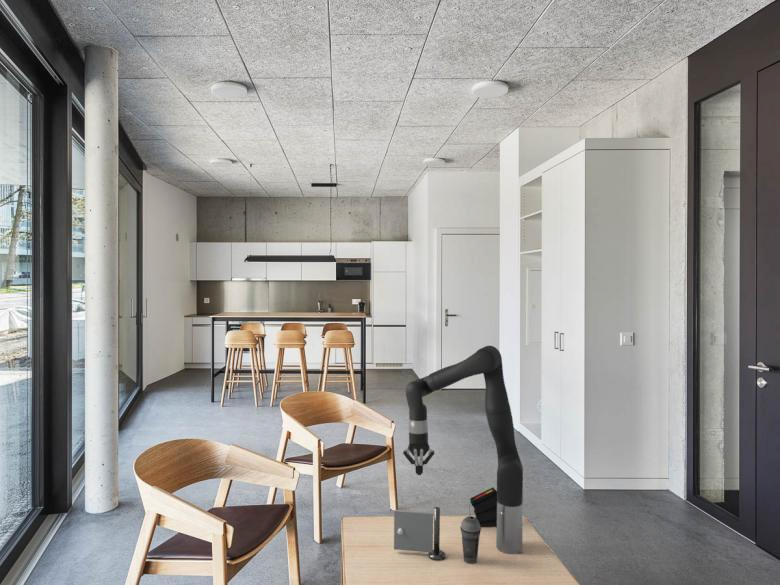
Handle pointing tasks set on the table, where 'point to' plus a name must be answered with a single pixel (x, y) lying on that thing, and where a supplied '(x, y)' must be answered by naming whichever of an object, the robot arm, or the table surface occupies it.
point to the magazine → (486, 507)
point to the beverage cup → (470, 538)
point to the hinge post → (436, 538)
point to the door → (413, 531)
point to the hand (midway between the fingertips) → (419, 474)
